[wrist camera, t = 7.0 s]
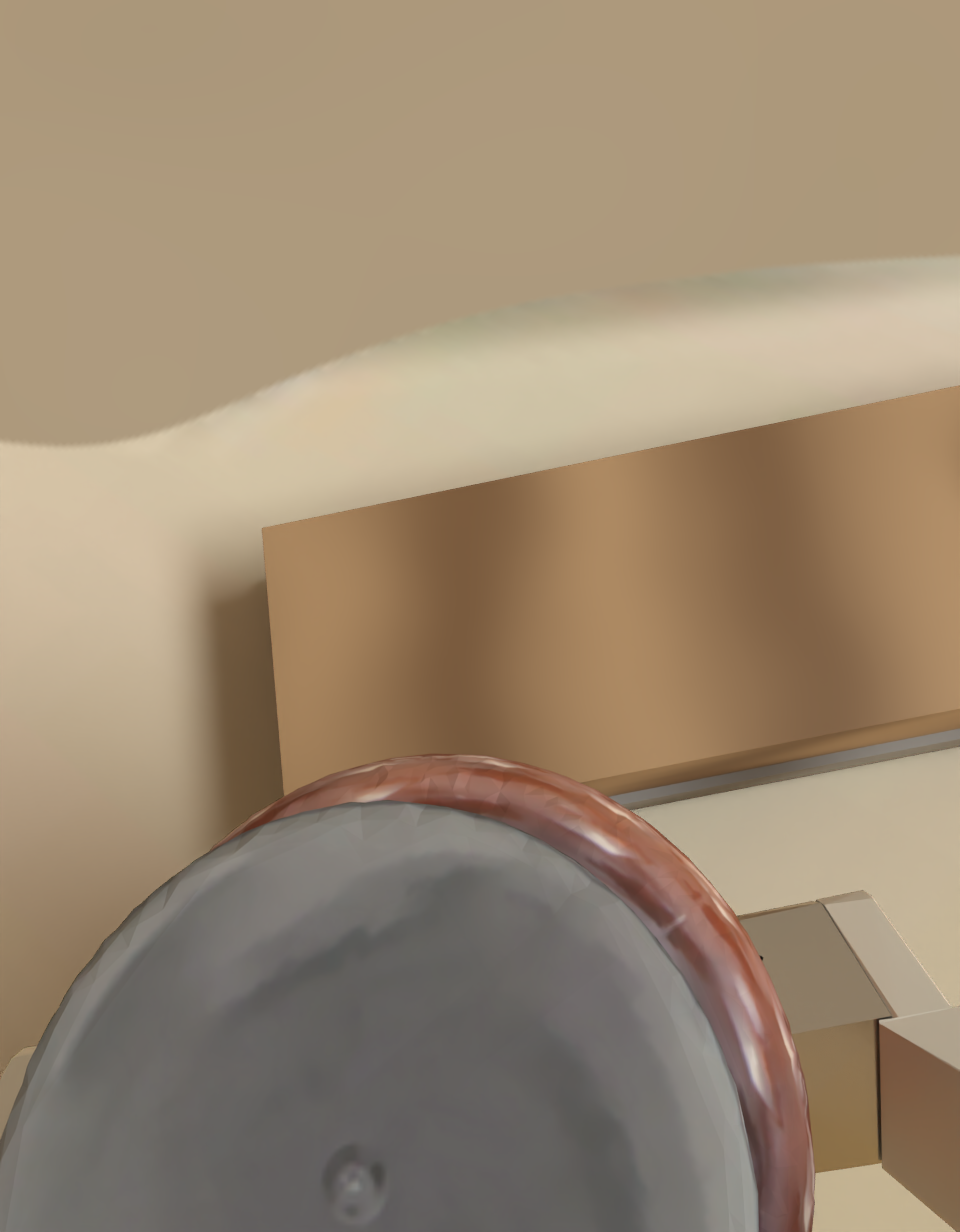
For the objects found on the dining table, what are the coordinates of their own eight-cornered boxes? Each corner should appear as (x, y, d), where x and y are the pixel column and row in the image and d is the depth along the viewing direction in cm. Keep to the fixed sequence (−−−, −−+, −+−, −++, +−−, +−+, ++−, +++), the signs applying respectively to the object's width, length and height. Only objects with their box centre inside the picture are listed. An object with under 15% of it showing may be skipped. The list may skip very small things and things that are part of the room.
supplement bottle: (253, 1045, 15) (-430, 1163, 5) (497, 793, 16) (378, 452, 6) (504, 1362, 13) (274, 2760, 3) (759, 1047, 14) (1253, 1188, 4)
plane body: (307, 872, 18) (217, 833, 14) (280, 576, 21) (199, 462, 17) (1271, 686, 18) (1507, 580, 13) (1113, 407, 21) (1264, 241, 16)
